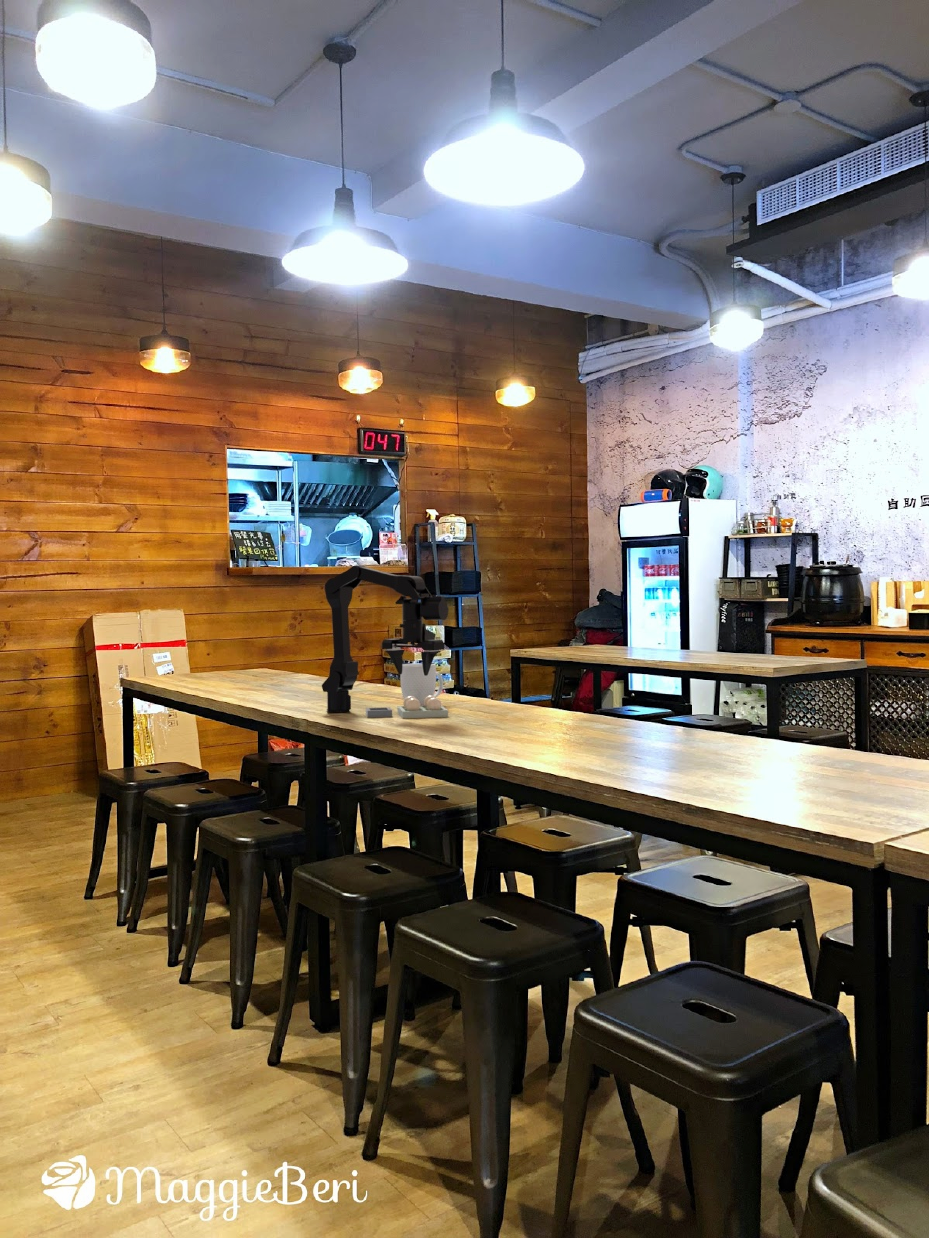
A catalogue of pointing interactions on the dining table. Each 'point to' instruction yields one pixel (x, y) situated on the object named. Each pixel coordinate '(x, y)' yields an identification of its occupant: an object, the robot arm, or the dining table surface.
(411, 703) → the egg
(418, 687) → the mug
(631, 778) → the dining table surface
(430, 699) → the carton
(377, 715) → the dish
